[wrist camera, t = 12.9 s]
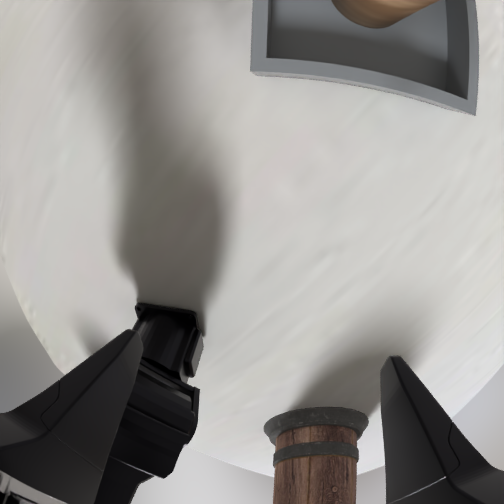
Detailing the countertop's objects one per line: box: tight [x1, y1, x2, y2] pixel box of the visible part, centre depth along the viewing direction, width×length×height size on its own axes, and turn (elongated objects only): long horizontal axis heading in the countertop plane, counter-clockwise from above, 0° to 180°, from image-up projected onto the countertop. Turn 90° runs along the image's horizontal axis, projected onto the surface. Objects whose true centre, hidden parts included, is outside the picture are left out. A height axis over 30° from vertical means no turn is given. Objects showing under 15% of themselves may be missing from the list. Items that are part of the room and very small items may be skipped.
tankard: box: [264, 407, 369, 504], centre depth 31 cm, size 24×17×20 cm
